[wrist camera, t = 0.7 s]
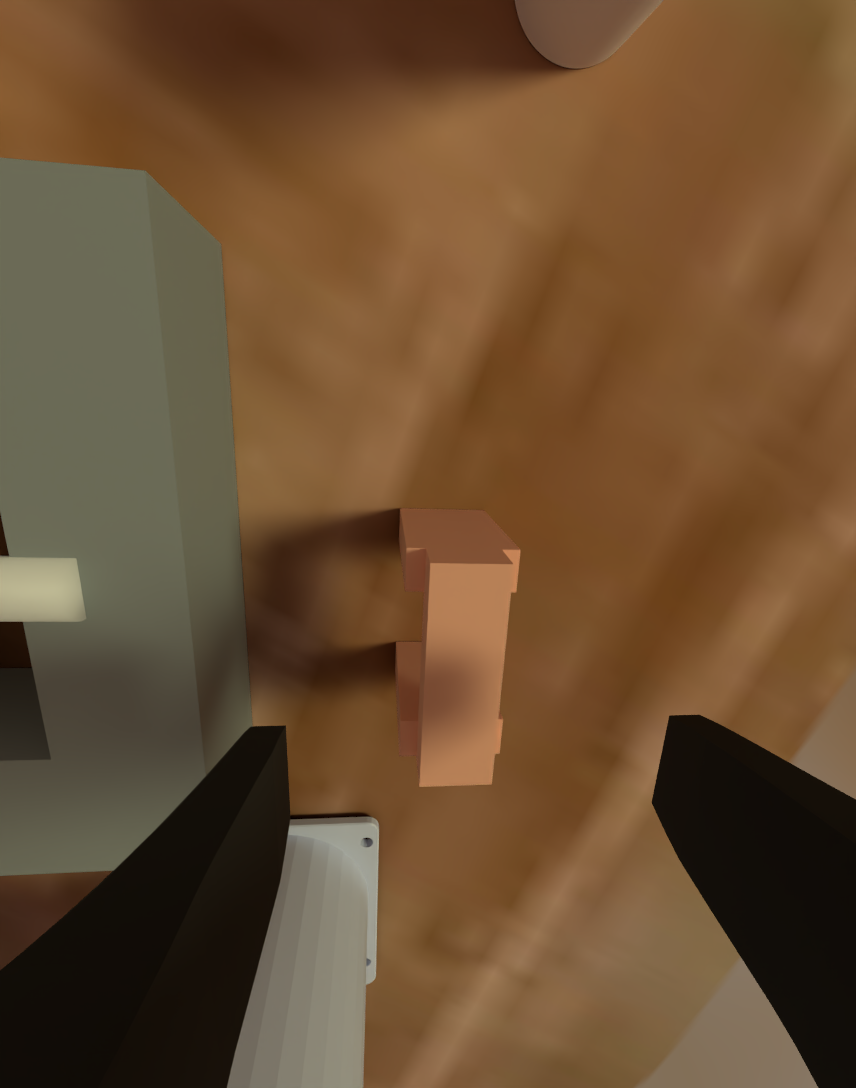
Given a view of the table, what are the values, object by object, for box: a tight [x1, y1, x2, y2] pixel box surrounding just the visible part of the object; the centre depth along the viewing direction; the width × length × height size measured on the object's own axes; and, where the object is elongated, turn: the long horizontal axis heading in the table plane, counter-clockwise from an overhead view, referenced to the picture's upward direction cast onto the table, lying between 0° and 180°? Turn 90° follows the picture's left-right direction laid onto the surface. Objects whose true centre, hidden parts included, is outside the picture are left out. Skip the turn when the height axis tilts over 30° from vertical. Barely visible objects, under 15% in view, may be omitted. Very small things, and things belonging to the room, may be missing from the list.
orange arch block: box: [395, 508, 520, 787], centre depth 15 cm, size 6×3×6 cm, turn 177°
